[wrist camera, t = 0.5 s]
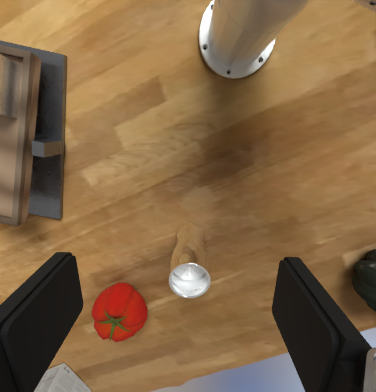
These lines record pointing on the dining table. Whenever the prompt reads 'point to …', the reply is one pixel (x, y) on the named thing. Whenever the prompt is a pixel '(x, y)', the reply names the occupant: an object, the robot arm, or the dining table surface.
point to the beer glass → (189, 263)
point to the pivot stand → (48, 135)
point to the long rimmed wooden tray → (18, 140)
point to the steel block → (9, 87)
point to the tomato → (119, 312)
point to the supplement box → (61, 381)
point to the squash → (366, 279)
